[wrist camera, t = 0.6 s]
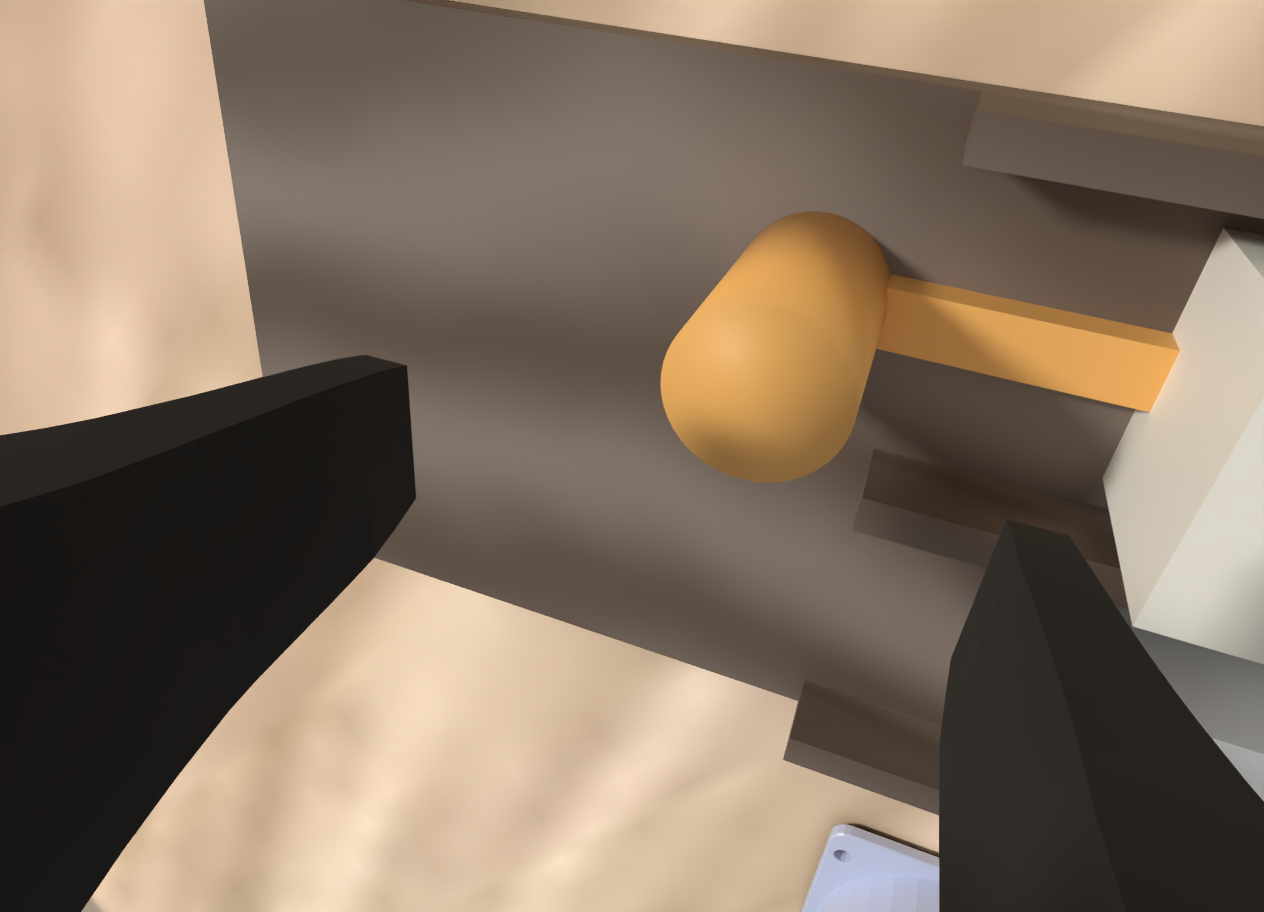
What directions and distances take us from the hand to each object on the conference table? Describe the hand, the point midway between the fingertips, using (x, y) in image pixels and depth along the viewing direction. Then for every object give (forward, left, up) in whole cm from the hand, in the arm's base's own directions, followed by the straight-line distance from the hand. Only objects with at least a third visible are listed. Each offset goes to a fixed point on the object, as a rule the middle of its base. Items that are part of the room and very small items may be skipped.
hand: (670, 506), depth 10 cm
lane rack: (-4, 0, -9) cm, 10 cm away
